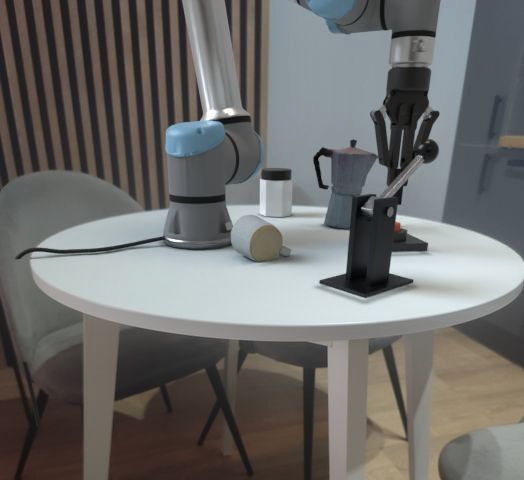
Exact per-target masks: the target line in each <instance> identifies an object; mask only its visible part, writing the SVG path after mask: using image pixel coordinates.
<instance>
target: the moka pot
mask: <svg viewBox="0 0 524 480" xmlns="http://www.w3.org/2000/svg"><path fill="white" fill-rule="evenodd" d="M349 142H350V143H349V145H350V146H348V147H345V148H339V149H335V148H334V149H332V148H326V147H323V146H322V147H321V148H320V149H319V150H318V151H317V152H316V153H315V154H314V155H313V157H312V162H313V166H314V171H315V175H316V178H317V179H316V180H317V185H318V188H319V189H322V190H328V189H329V188H331V194H330V198H329V201H328V202H329V203H328V206H327V210H326V213H325V218H324V221H323V224H324V225H325V226H329V227H332V228H336V229H347V230H350V220H351V208H352V196H357V195H362V193H363V187H365V185H366V181H367V179H368V178H367V176H368V175H369V173H370V172H371V170H372V168H373V166H374V165H375V163H376V161H377V160H378V154H376V153H375V152H372V151H371V152H370V151H367V150H363V149H361V148H358V147H356V146H357V142H358V141H357V140H356V139H350V140H349ZM321 157H325V158H330V160H331V162H330V163H331V164H330V165H331V168H330V169H331V172H330V173H331V175H330V176H331V178H330V181H331V183H330V184H332V186H331V187H330V186H329V184H328V185H327V184H324V183H323V179H322V171H321V165H320V160H319V159H320V158H321Z"/></svg>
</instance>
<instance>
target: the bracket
mask: <svg viewBox="0 0 524 480" xmlns="http://www.w3.org/2000/svg"><path fill="white" fill-rule="evenodd" d="M371 196H375V197H377V194H375V193H366V194H361V195H357V196H352V208H351V220H350V229H349V232H348V233H349V234H348V245H347V258H346V267H345V273H342V274H338V275H335V276H331V277H330V276H329V277H326V278H323V279H319V282H318V283H319V284H320V285H323V286H326V287H329V288H332V289H335V290H339V291H341V292H344V293H348V294H351V295H354V296H357V297H360V298H362V299H366V298H369V297H372V296H376V295H379V294H381V293H385V292H389V291H392V290H394V289H397V288H401V287H404V286H407V285H411V284H413V283H414V279H413V278H409V277H406V276H401V275H398V274H394V273H390V272H391V271H390V270H391V261H392V253H393V252H392V246H393V238H394V230H395V222H397V221H396V220H397V213H398V206H399V205H398V197H388V198H380V199H374V207H373V217H372V222H370V221H365V219H364V216H363V213H362V211H361V207H362V206H363V205H364V204H365V203H366V202H367V200H368V199H369V198H370V197H371Z"/></svg>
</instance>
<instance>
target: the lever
mask: <svg viewBox="0 0 524 480" xmlns="http://www.w3.org/2000/svg"><path fill="white" fill-rule="evenodd" d="M439 154H440V146H439V145H438V142H437V141H436V140H434V139H432V138H428V139H425V140H422V141H421V142H419V143H418V145H417V146H416V148H415V158H414V159H413V160H412V161H411V163H410V164H409V165H408V166H407V167H406V168H405V169H404V170H403V171H402V172H401V173H400V175H399V176H398V177H397V178H396V179H395V180H394V181H393V182H392V183H391V184H390V185H389V186H387V187H386V188H385V190H384V191H383V192H382V193H381V194H380V195H379V196H376V197H375V196H371V197H370V198H369V199H368V200H367V202H366V203H365V204H364V205H363V206H362V207H361V211H362V213H363V216H364V219H365V221H370V222H372V217H373V207H374V199H380V198H388V197H392V196H393V195H394V194H395V193H396V192H397V191H398V190H399V188H400V187H401V186H402V185H403V184H404V183H405V182H406V181H407V180H408V181H409V179H410V178H411V177H412V175H414V173H415V172H416V171H417V170H418V169H419V168H420V167H421V166H422V164H423V165H428V164H431V163H433V162H434V161H435V160H436V159H437V158H438V156H439Z"/></svg>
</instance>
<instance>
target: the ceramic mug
mask: <svg viewBox="0 0 524 480" xmlns="http://www.w3.org/2000/svg"><path fill="white" fill-rule="evenodd" d="M231 243H232V244H231V245H232V248H233V250H235V252H237V253H239V254H240V255H242V256H243V257H246V258H248V259H250V260H252V261H253V262H256V263H264V262H268V261H269V262H270V261H273V260H276V258H277V257H278V256H279V255H280V256H283V257H285V258H287V257H290V255H291V253H292V249H291V248H289V247H287V246H284V239H283V235H282V232H281V231H280V230H279V229H278V227H277V226H275V224H273V223H271V222H269V221H267V220H265V219H263V218H261V217H259V216H258V215H256V214H245V215H243V216H241V217H239V218H238V219H237V220H236V221H235V222H234V224H233V227H232V230H231Z"/></svg>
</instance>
